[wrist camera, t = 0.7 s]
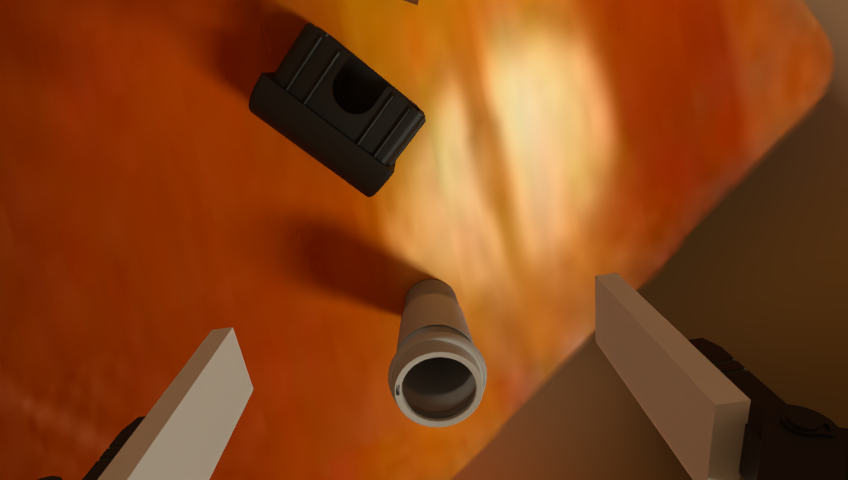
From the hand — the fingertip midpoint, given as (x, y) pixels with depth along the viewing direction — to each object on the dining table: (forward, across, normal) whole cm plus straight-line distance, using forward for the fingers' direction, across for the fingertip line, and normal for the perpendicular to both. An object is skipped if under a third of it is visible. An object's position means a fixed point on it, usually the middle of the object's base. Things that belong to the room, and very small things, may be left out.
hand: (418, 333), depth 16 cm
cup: (+22, 0, -10) cm, 24 cm away
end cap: (+22, -4, +7) cm, 23 cm away
